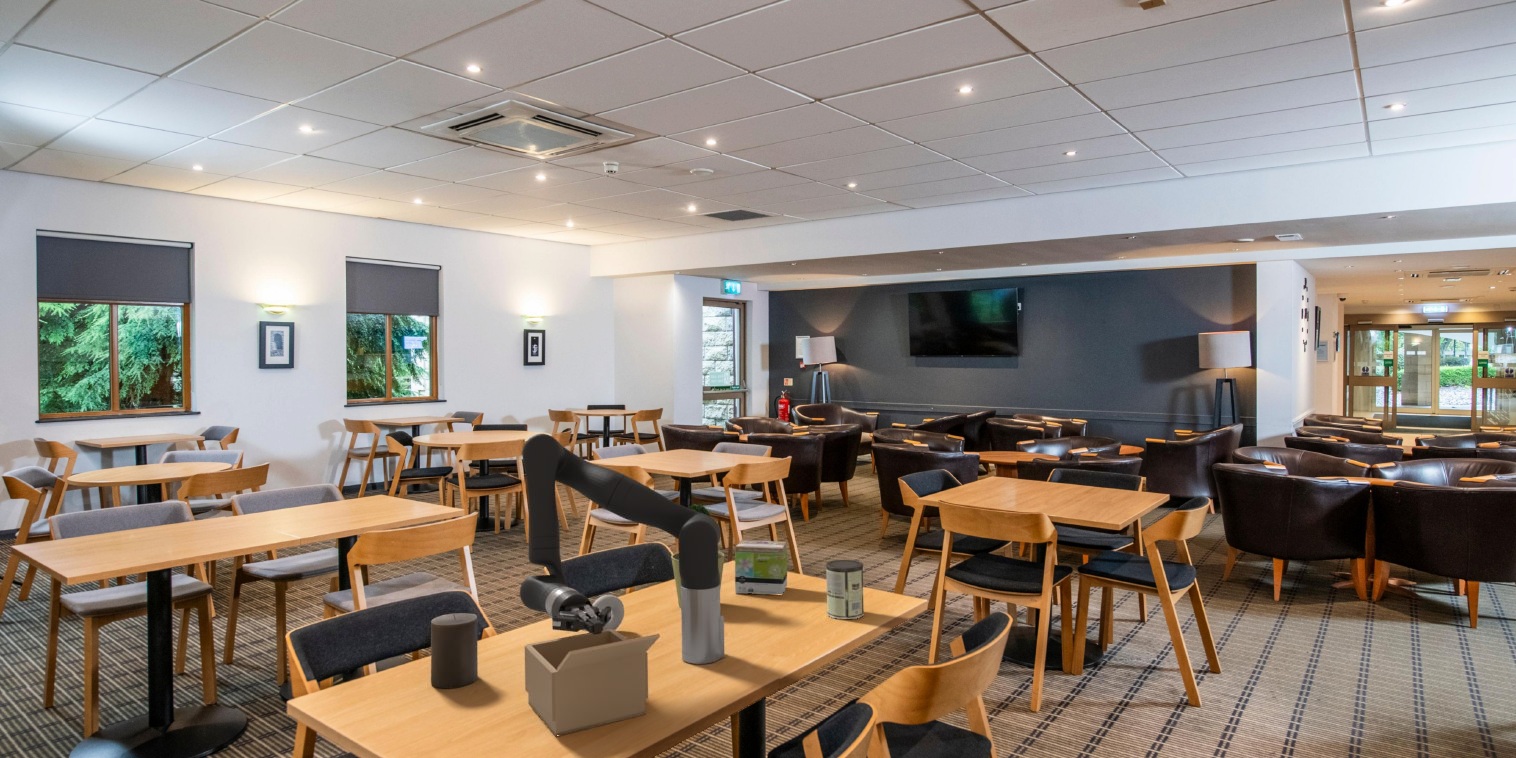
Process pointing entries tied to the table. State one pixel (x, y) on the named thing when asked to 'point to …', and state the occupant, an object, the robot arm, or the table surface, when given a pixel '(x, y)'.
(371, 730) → the table surface
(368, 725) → the table surface
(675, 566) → the potted cactus
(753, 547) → the tea box
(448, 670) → the pillar candle
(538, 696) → the carton
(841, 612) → the coffee can
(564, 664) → the carton flap
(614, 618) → the donut
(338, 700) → the table surface
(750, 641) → the table surface
